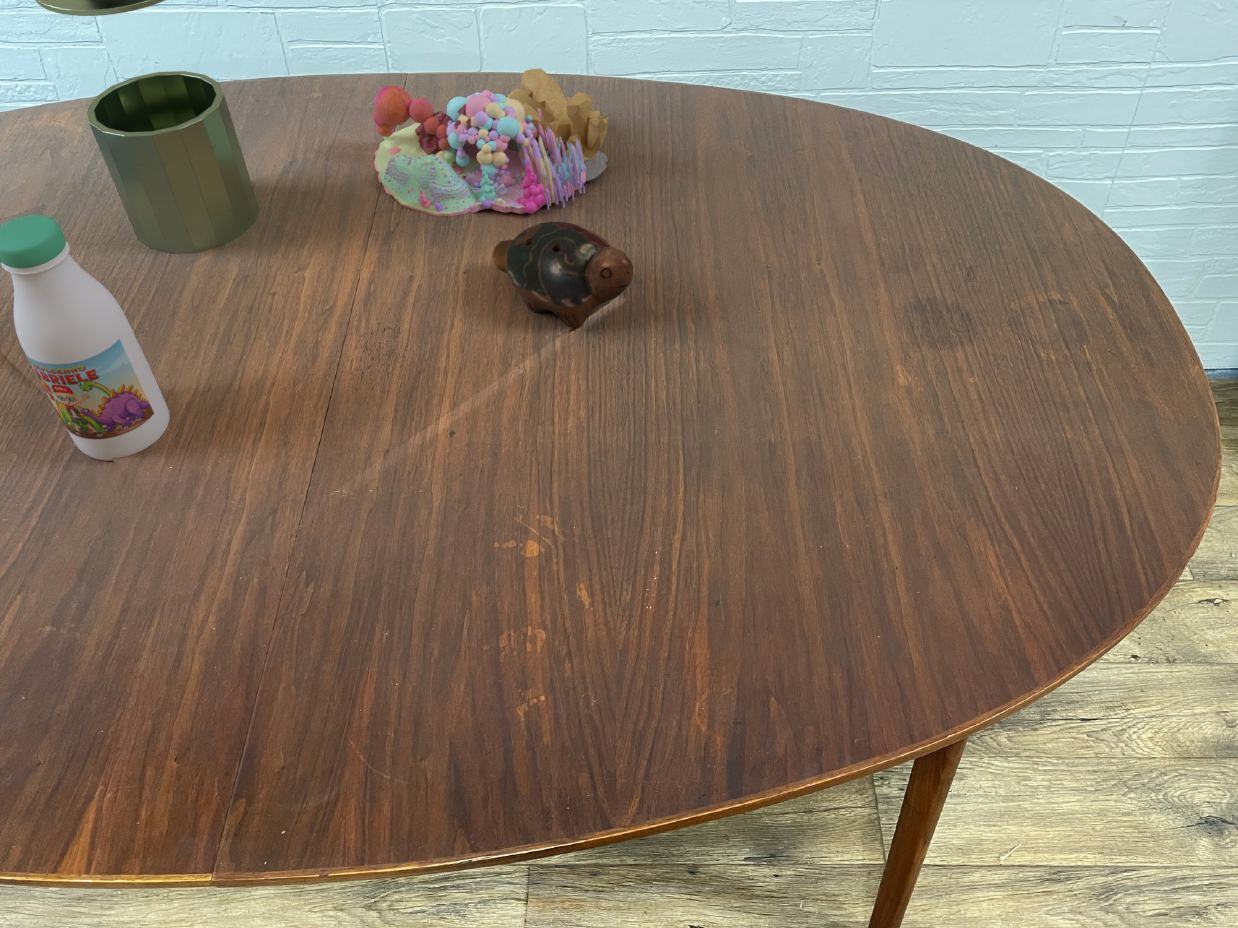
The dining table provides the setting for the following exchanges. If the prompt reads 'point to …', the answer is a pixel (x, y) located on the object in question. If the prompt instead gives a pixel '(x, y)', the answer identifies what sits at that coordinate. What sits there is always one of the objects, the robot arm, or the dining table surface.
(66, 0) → the tin lid
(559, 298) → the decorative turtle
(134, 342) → the milk bottle
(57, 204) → the dining table surface
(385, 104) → the candy landscape model
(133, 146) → the tin
